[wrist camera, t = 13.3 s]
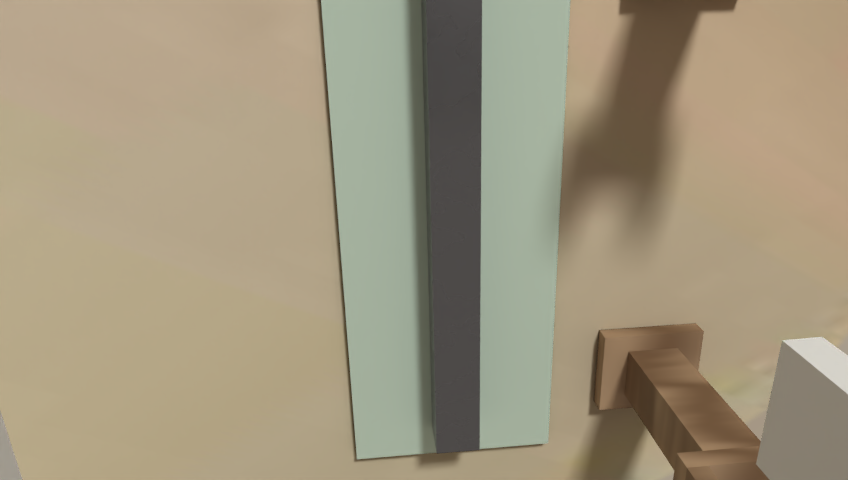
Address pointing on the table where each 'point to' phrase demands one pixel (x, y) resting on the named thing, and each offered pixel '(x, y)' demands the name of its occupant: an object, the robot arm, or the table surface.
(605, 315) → the table surface
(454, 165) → the rail
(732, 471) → the hook stand
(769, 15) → the table surface
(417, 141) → the mat
